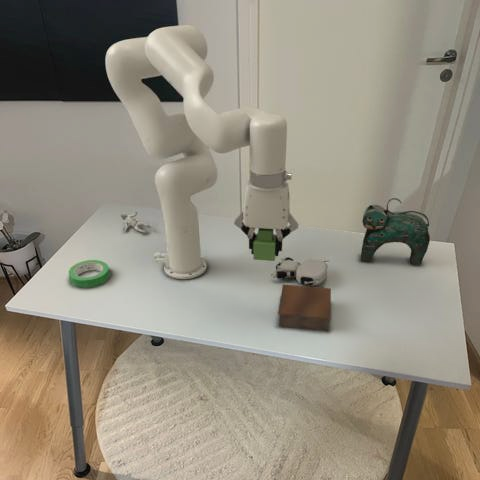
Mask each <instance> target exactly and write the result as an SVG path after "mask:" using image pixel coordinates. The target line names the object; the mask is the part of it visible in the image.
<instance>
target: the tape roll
mask: <svg viewBox="0 0 480 480" xmlns="http://www.w3.org/2000/svg"><path fill="white" fill-rule="evenodd" d="M89 271H98V272H99V273H97V274H95V275H90V276H79V275H81V274H82V273H84V272H89ZM68 277H69V280H70V284H72V285H73V286H74V287H77V288H81V289H87V288H89V289H90V288H94V287H95V288H96V287H98V286H101V285H103V284H104V283H106V282H108V281H109V279H110V277H111V273H110V268H109V265H108V264H107V262H104V261H102V260H99V259H88V260H87V259H86V260H82V261H79V262H77V263H75V264H74V265H72V266H71V267H70V268H69V269H68Z"/></svg>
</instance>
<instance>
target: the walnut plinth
mask: <svg viewBox="0 0 480 480" xmlns="http://www.w3.org/2000/svg"><path fill="white" fill-rule="evenodd" d="M331 299H332V288H331V287H330V288H329V287H317V286H308V285H294V284H282V287H281V293H280V300H279V306H278V313H277V314H278V316H279V317H278V327H281V328H291V329H301V330H313V331H320V332H321V331H323V332H328V328H329V322H330V321H329V320H331V317H332V316H331V315H332V314H331V313H332V309H331V308H332V307H331V305H332V303H331V302H332V301H331Z"/></svg>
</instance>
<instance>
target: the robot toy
mask: <svg viewBox="0 0 480 480" xmlns="http://www.w3.org/2000/svg"><path fill="white" fill-rule="evenodd" d="M330 262H331V260H330V259H327V260H320V259H314V258H309V259H306V260H304V261H303V262H298V261H295V260H294V258H291V257H286V256H284V257H282V258H281V260H280V261H279V262H278V263H277V264H276V265H275V270H276V272H272V273H270V277H271V278H272V279H275V278H276V279H277V280H280V279H281V280H282V279H285V278H286V279H288V278H292V279H293V278H296V282H298V283H299V284H300V285H304V286H308V287H316V286H318V285H320V284H321V283H323V282H324V281H325V280H326V278H327V276H328V264H327V263H330Z"/></svg>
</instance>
